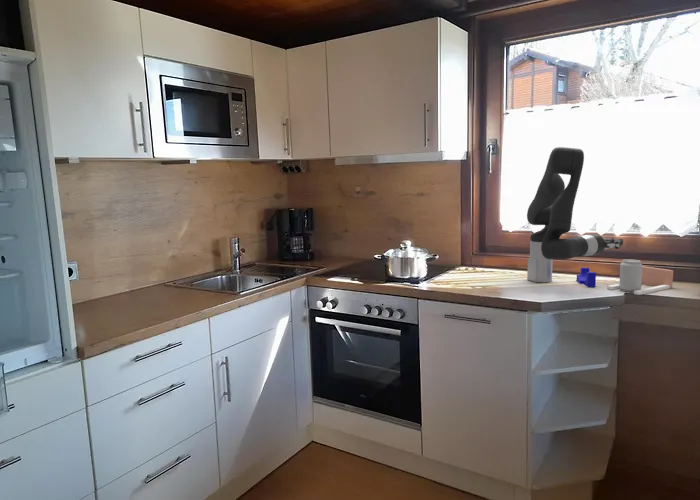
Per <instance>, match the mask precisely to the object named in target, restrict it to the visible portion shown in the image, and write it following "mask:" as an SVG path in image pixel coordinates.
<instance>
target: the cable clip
mask: <svg viewBox="0 0 700 500" xmlns="http://www.w3.org/2000/svg"><path fill="white" fill-rule="evenodd" d="M576 282H577V283H578V284H580V285H585V287H587V288H596V282H597V273H596V272H593V271H590V268H589V267H580V274H576Z"/></svg>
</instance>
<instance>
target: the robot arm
mask: <svg viewBox="0 0 700 500" xmlns="http://www.w3.org/2000/svg"><path fill="white" fill-rule="evenodd" d="M584 162H585V153H584V151H583V149H581V148H575V147H565V146H559V147H557V146H556V147H554V148H553V149H552V150H551V152H550V155H549V157H548V161H547V163H546V164H547V165H546V168H545V171H544V174H543V176H542V178H541V180H540V182H539V185H538V187H537V190H536V193H535V196H534V197H533V200H532V201H531V203H529V206H528V209H527V213H526V218H527V219H526V220H527V222H528V223H529V224H530V225H532V226H544V227H543V228H542V229H541V230H538V231H536V232H534V233H532V234H530V236H529V237H530V239H529V243H530V245H529V246H530V247H529V257H528V258H527V270H526V271H527V272H526V273H527V276H526V279H527V281H530V282H533V283H551V282H553V264H554V263H553V261H554V260H568V259H569V260H570V259H574V258H577V257H588V256H597V255H600V254H602V252H604V250H608V249H615V250H618V249H620V248H621V247H622V245H623V244H624V239H623V238H618V239H615V238H613V237H611V238H605V237H602V235H600V234H598V233H592V234H584V235H579V236H573V237H568V238H561V237H562V235H563V234H567V233H568V232H570V231H571V228H572V219H573V213H574V212H573V211H574V205H575V201H576V196H577V194H578V189H579V184H580V182H581V176H582V171H583V167H584ZM561 175H566V176H569V175H570V179H569V181H568V183H567V185H565V182H564V179H563V177H562V176H561Z"/></svg>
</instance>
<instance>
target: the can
mask: <svg viewBox="0 0 700 500" xmlns="http://www.w3.org/2000/svg"><path fill="white" fill-rule="evenodd" d="M641 262H642V261H641V260H639V259H626V258H625V259H622V262H620V264H619V265H620V267H619V283H618V284H619V289H620V291H623V292H628V293H634V291H636V290H641V289H642V284H641V279H642V266H643V264H642V263H641Z"/></svg>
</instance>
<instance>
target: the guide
mask: <svg viewBox="0 0 700 500" xmlns="http://www.w3.org/2000/svg"><path fill="white" fill-rule="evenodd" d="M673 283H674V270H672V269H666V268H661V267H660V268H658V267H652V266H644V265H642V279H641V285H642V284H643V285H645V286H647V285H648V286H650V287H647V288H641V290H636V291H634V292H633V295H637V296H640V295H646V294H650V293H655V292H658V291H663V290H669V289H673ZM606 288H607V290H611V291H613V290H618V289H620V288H619V283H616V284H615V283H614V284H610V285H607V287H606Z"/></svg>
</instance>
